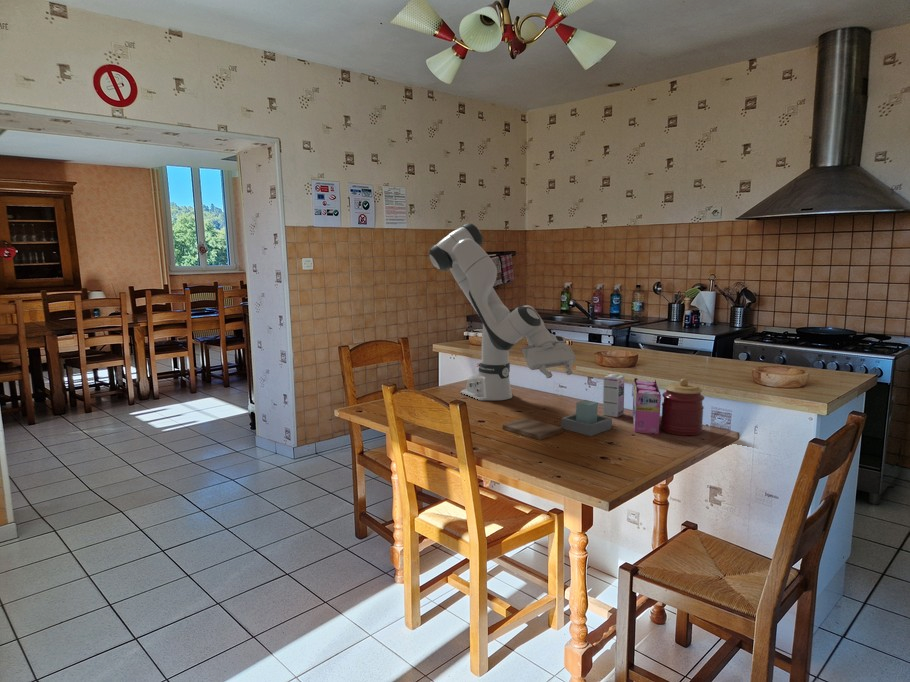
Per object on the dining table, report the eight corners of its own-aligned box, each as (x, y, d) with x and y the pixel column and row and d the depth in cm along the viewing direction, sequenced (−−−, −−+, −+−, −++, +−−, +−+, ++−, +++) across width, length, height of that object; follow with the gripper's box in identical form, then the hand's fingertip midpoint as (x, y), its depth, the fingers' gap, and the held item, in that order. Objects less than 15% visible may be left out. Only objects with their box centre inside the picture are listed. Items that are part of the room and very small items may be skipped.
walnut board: (502, 429, 196) (502, 424, 196) (525, 421, 204) (525, 417, 204) (539, 440, 185) (539, 435, 184) (562, 432, 193) (562, 427, 192)
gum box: (631, 413, 215) (633, 377, 213) (654, 414, 213) (656, 378, 211) (634, 432, 192) (635, 392, 190) (659, 434, 190) (661, 393, 188)
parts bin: (561, 428, 197) (561, 418, 196) (581, 421, 205) (582, 411, 204) (591, 436, 188) (591, 425, 187) (611, 428, 196) (612, 418, 195)
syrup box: (617, 417, 209) (619, 378, 206) (602, 415, 212) (603, 376, 210) (623, 414, 213) (625, 375, 211) (608, 411, 217) (609, 373, 214)
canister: (674, 422, 203) (677, 372, 200) (710, 431, 192) (713, 379, 190) (652, 429, 195) (655, 377, 192) (688, 439, 185) (691, 384, 182)
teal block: (575, 428, 197) (576, 402, 195) (584, 425, 200) (585, 399, 198) (588, 431, 193) (589, 405, 192) (596, 428, 196) (597, 402, 195)
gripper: (524, 341, 204) (541, 373, 197) (567, 336, 214) (585, 367, 208) (515, 352, 208) (533, 384, 201) (558, 347, 219) (576, 377, 212)
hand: (560, 375), depth 205 cm, fingers open, 8 cm apart
